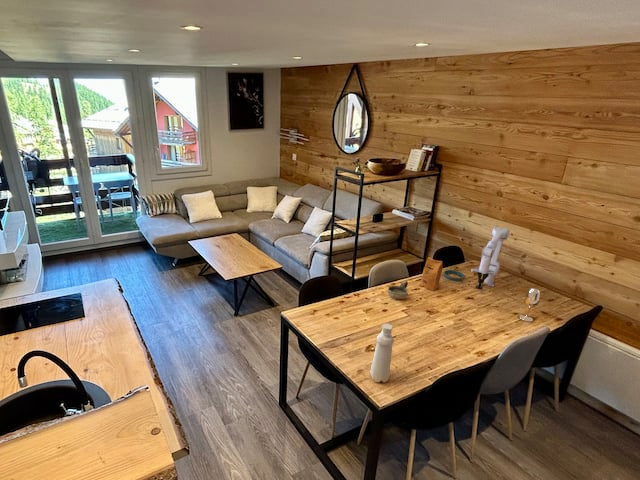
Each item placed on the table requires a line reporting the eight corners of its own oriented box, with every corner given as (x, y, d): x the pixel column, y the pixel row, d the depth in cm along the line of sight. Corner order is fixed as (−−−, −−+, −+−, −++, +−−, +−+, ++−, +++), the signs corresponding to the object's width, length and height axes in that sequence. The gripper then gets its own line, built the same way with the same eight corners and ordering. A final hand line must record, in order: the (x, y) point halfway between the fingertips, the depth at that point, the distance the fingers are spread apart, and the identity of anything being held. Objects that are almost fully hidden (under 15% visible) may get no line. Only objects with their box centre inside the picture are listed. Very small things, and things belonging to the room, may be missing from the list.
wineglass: (532, 317, 248) (541, 289, 240) (533, 323, 242) (543, 294, 234) (518, 314, 251) (526, 286, 243) (519, 319, 244) (528, 291, 237)
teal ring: (442, 273, 304) (443, 268, 303) (461, 276, 301) (462, 271, 299) (443, 281, 292) (444, 276, 290) (464, 284, 288) (465, 279, 286)
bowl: (382, 296, 268) (384, 283, 264) (396, 288, 278) (398, 276, 275) (400, 304, 258) (402, 291, 254) (414, 296, 269) (416, 283, 265)
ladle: (475, 286, 272) (477, 277, 270) (481, 287, 271) (484, 278, 269) (476, 289, 269) (478, 280, 266) (483, 290, 268) (485, 281, 265)
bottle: (385, 371, 196) (394, 321, 184) (390, 384, 188) (400, 332, 176) (367, 371, 196) (375, 321, 184) (372, 384, 187) (380, 332, 175)
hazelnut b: (447, 275, 300) (448, 273, 299) (450, 275, 300) (450, 273, 299) (447, 276, 298) (448, 274, 298) (450, 276, 298) (450, 274, 297)
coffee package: (425, 281, 290) (430, 254, 282) (440, 287, 282) (446, 260, 273) (417, 285, 285) (422, 257, 276) (432, 291, 276) (438, 263, 267)
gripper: (474, 265, 261) (469, 283, 267) (498, 268, 258) (493, 286, 263) (472, 261, 267) (468, 279, 273) (495, 264, 264) (491, 282, 269)
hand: (480, 282), depth 268 cm, fingers closed on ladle
